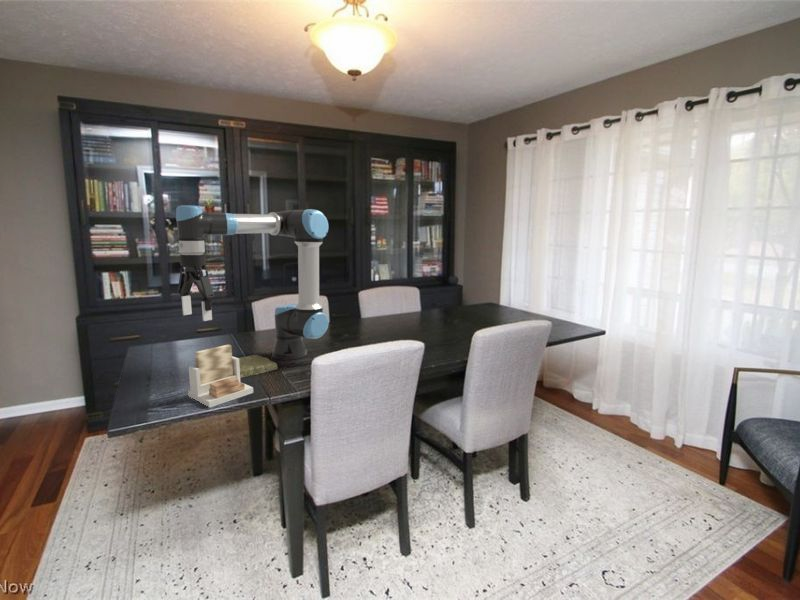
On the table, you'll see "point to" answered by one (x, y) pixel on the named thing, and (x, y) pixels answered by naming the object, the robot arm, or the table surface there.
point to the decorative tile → (255, 365)
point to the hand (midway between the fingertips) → (197, 317)
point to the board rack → (202, 391)
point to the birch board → (214, 363)
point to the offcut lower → (227, 391)
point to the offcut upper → (224, 384)
